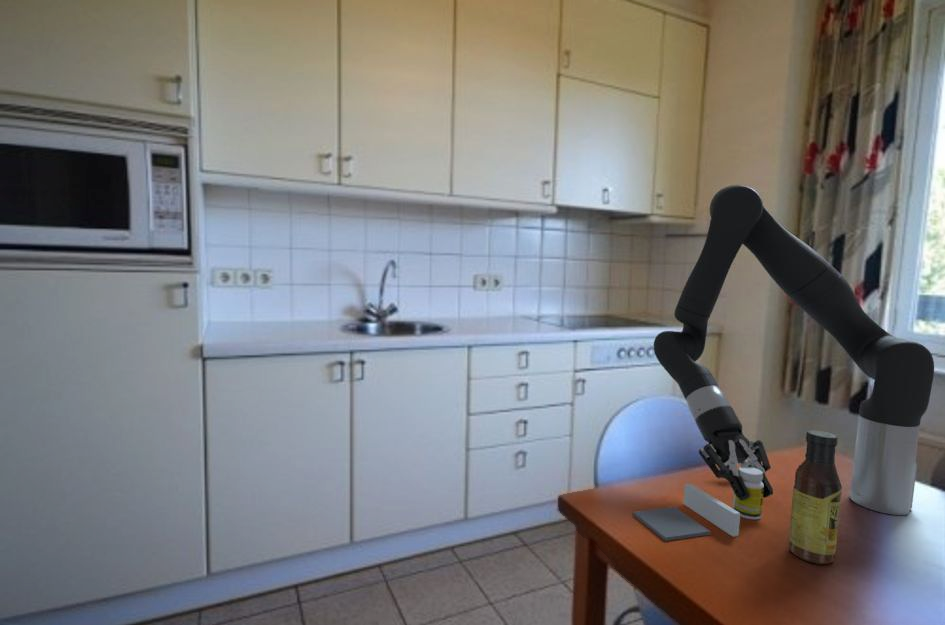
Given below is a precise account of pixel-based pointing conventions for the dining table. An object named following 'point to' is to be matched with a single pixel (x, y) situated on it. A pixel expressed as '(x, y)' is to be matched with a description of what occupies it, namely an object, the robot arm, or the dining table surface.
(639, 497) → the dining table surface
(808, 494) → the sauce bottle
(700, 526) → the coaster
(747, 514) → the supplement bottle
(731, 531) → the wall
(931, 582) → the dining table surface
